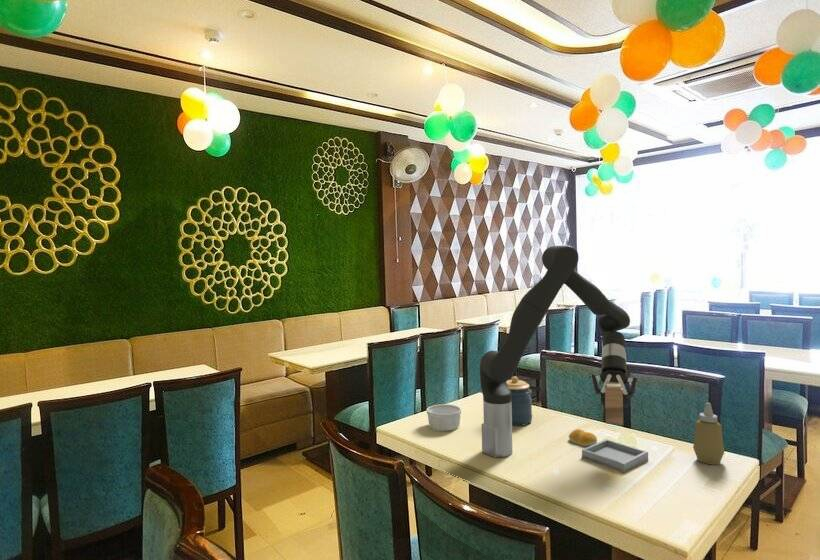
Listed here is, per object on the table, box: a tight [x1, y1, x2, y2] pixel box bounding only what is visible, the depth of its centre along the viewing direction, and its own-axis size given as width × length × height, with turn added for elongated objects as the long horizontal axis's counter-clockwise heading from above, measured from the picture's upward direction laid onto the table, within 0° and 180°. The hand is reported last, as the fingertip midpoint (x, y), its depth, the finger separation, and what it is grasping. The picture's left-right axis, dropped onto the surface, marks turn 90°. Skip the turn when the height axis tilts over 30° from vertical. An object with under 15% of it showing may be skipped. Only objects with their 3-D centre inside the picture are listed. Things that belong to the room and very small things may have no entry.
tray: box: [581, 438, 649, 473], centre depth 147 cm, size 14×14×2 cm
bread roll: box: [568, 428, 598, 447], centre depth 162 cm, size 8×9×4 cm
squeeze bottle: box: [692, 402, 725, 465], centre depth 143 cm, size 8×8×18 cm
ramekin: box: [426, 403, 462, 432], centre depth 180 cm, size 13×13×7 cm
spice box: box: [604, 382, 624, 426], centre depth 147 cm, size 5×5×12 cm
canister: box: [506, 375, 533, 426], centre depth 185 cm, size 13×13×18 cm
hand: (614, 406), depth 145 cm, fingers closed on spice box, 5 cm apart
